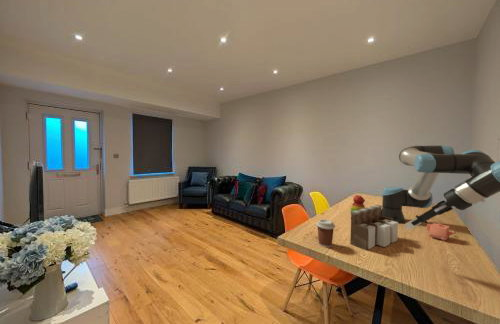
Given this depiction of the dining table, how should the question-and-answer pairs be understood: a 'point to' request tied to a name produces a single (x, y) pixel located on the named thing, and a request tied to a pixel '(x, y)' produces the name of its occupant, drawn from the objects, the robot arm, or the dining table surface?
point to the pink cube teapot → (439, 231)
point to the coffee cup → (325, 232)
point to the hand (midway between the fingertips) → (407, 227)
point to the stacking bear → (357, 203)
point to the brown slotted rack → (367, 217)
